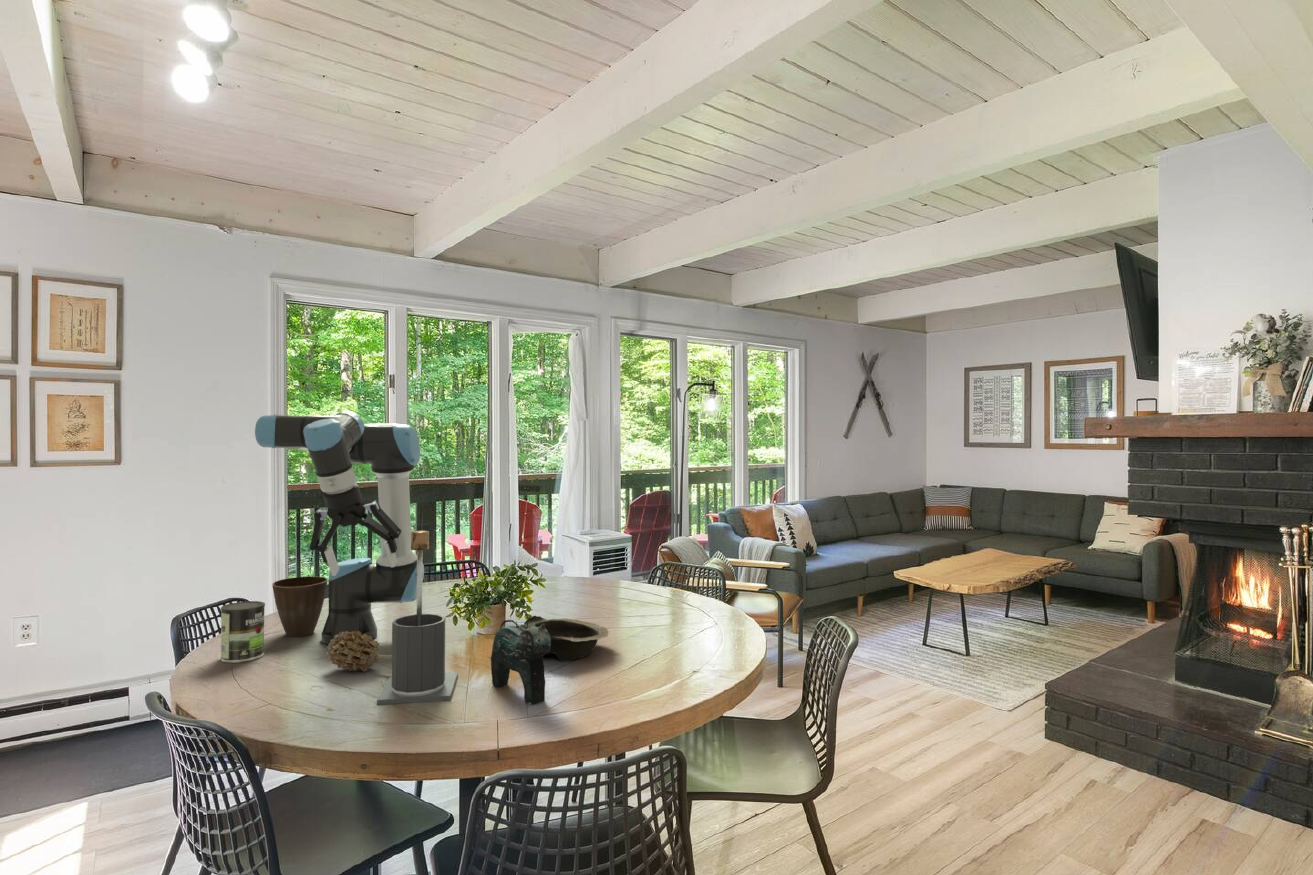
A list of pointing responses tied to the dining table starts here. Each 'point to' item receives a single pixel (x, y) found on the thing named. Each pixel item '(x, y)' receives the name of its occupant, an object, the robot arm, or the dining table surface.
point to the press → (418, 662)
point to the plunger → (419, 565)
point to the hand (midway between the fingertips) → (365, 568)
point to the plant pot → (299, 603)
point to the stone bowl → (570, 636)
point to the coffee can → (242, 631)
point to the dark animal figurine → (521, 658)
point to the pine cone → (354, 651)
